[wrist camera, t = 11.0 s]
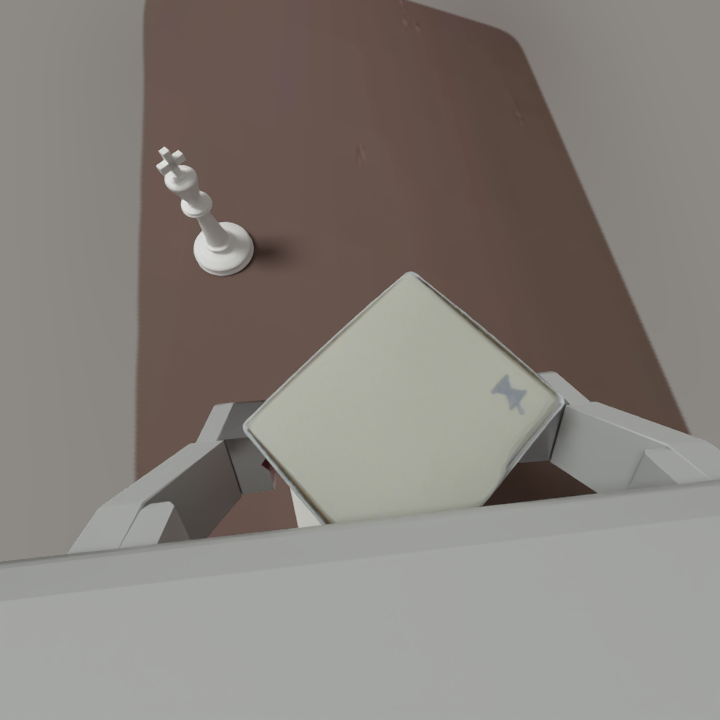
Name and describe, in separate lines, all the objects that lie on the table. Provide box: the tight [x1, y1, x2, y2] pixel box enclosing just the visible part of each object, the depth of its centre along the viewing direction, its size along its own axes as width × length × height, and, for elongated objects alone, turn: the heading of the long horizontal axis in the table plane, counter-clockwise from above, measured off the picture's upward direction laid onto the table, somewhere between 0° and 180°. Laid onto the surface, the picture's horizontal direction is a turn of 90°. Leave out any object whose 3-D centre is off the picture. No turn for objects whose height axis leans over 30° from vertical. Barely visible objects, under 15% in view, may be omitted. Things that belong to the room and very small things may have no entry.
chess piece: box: [156, 147, 254, 276], centre depth 25 cm, size 5×5×10 cm
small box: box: [243, 272, 565, 525], centre depth 10 cm, size 5×4×8 cm
